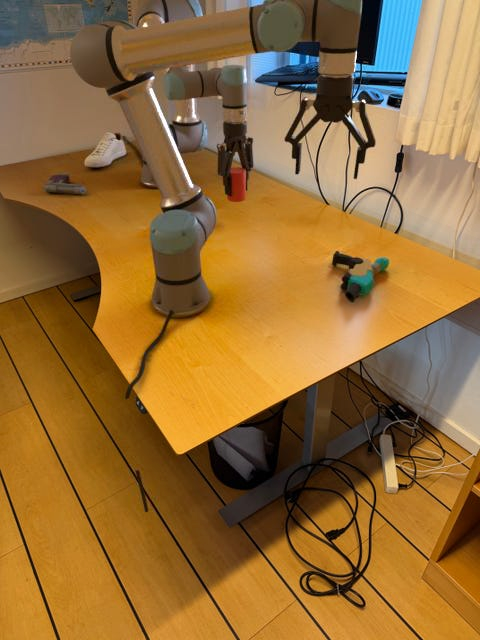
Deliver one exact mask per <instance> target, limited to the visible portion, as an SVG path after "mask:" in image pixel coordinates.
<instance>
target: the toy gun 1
mask: <svg viewBox="0 0 480 640" xmlns="http://www.w3.org/2000/svg"><path fill="white" fill-rule="evenodd" d="M70 181H71V180H70V175H69V173H55V174H54V175H53V174H52V175H51V176H50V177H49V181H48V182H45V183H44V186H43V187H42V190H43V191H45V192H47V193H56V194H71V195H85V192H86V190H87V187H86V186H85V185H82V184H78V183H76V184H75V183H74V184H73V183H70Z"/></svg>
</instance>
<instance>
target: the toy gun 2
mask: <svg viewBox="0 0 480 640" xmlns="http://www.w3.org/2000/svg"><path fill="white" fill-rule="evenodd" d="M331 265H332V266H334V267H335V266H337V265H342V266H347V267H348V271H347V272H345V273H344V274H343V276H342V277H341V282H342V283H341V284H340V289H341V290H342V291H344V292H345V293H344V296H345V298H346V299H347V300H348V302H350V303H354V302H355V301H356V300H357V299H358V298H359V297H360V295H361V296H366V295H367V294H369V293H370V292H371V291H372V289H373V288H374V286H375V279H374V276H376V275H377V274H378V273H379V272H384V271H385V270H386V269H388V268H389V265H390V259H389V258H388V257H386V256H385V257H384V256H380V257H378V258H376V259H375V260H374V263H373V262H372V260H370V259H368V258H362V257H358V256H357V257H353V256H351V255H348V254H345V253H342V252H341V253H340V251H339V250H336V251H335V252H334V254H333V255H332V262H331Z"/></svg>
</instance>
